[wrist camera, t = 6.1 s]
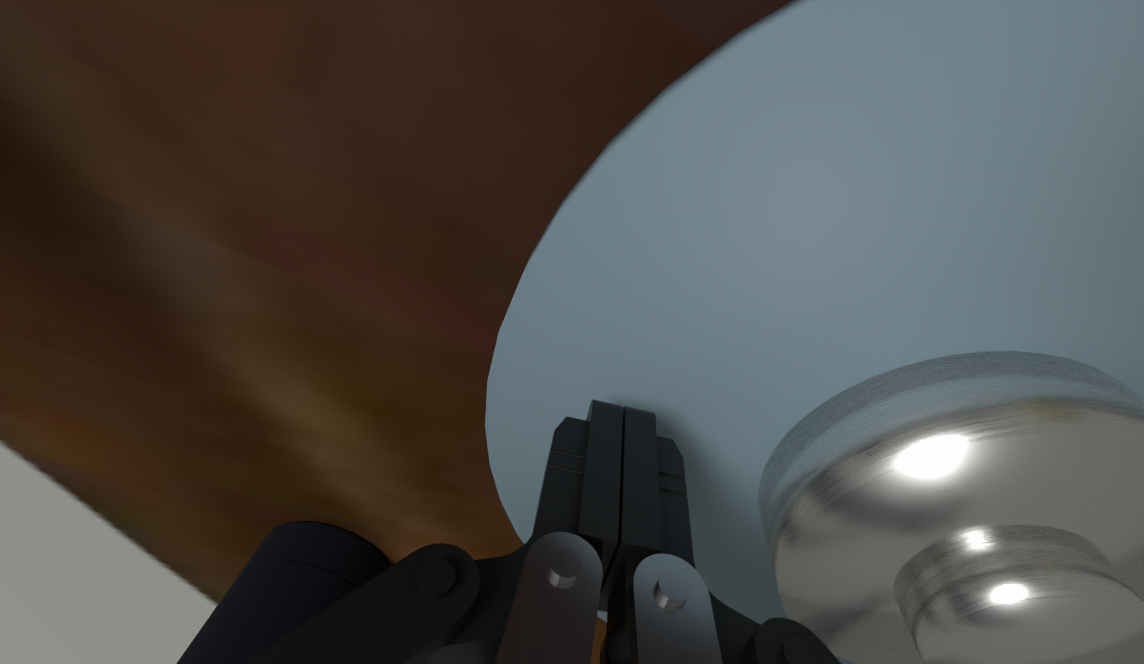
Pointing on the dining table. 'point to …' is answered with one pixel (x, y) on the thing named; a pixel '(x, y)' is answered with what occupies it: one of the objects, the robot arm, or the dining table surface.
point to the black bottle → (284, 590)
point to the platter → (831, 240)
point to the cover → (965, 515)
